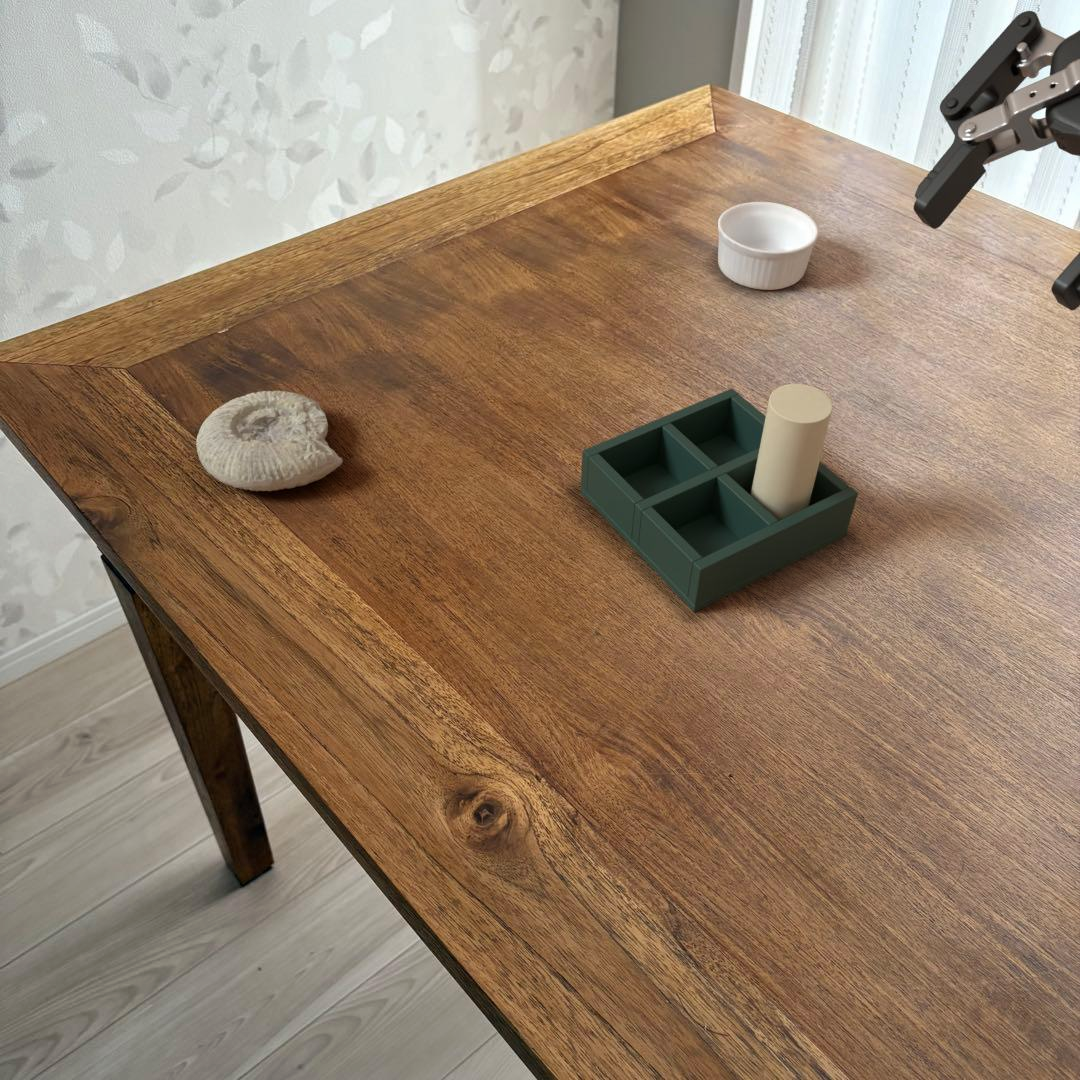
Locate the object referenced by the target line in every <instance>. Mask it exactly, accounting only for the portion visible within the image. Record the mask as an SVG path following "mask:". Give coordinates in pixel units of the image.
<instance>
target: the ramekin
mask: <svg viewBox="0 0 1080 1080" xmlns="http://www.w3.org/2000/svg"><path fill="white" fill-rule="evenodd" d="M717 232H718V246H717V250H718V251H717V262H718V267H719V269H720V271H721V272H722V274H723V275H724V276H725V277H726V278H728V279H729V280H731V281H732V282H733V283H736V284H737V285H740V286H743V287H746V288H748V289H749V288H750V289H755V290H763V291H773V290H781V289H785V288H789V287H791V286H792V285H795V284H796V283H798V282H799V281H800V280H801V279H803V277H804V275H805V273H806V270H807V269H808V268H807V267H808V265H809V261H810V258H811V255H812V252H813V248H814V246H815V244H816V243H817V240H818V238H819V234H820V233H819V227H818V225H817V222H816V221H815V220H814V219H813V218H812V217H811V216H810V215H808V214H807V213H805V212H804V211H801V210H799V209H797V208H795V207H793V206H789V205H786V204H782V203H778V202H771V201H751V202H743V203H739V204H737V205H736V204H735V205H733V206H731V207H729V208H727V209H726V210H724V211H723V212H722V213H721V214H720V215H719V217H718V220H717Z"/></svg>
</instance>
